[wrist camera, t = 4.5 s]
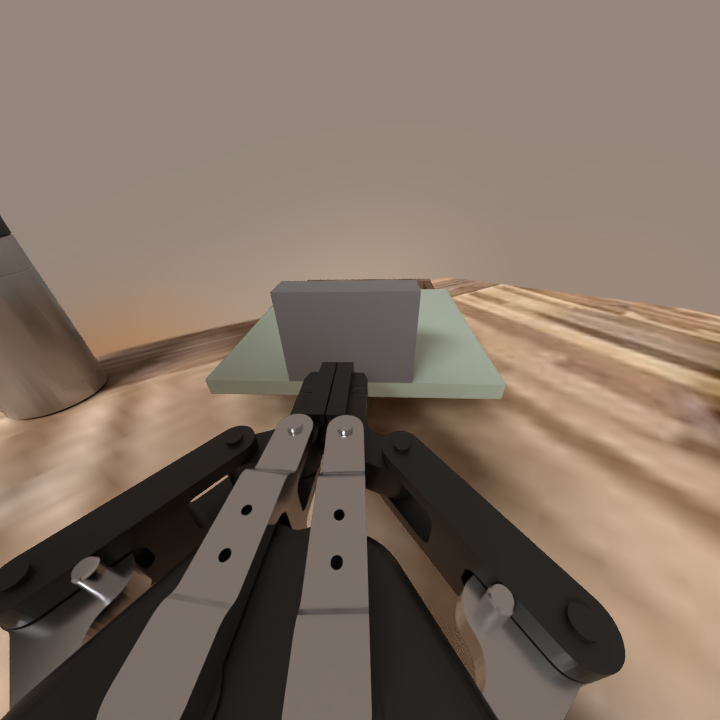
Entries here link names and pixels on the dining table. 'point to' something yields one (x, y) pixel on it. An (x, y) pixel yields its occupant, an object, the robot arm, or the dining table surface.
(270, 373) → the lid
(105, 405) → the dining table surface
